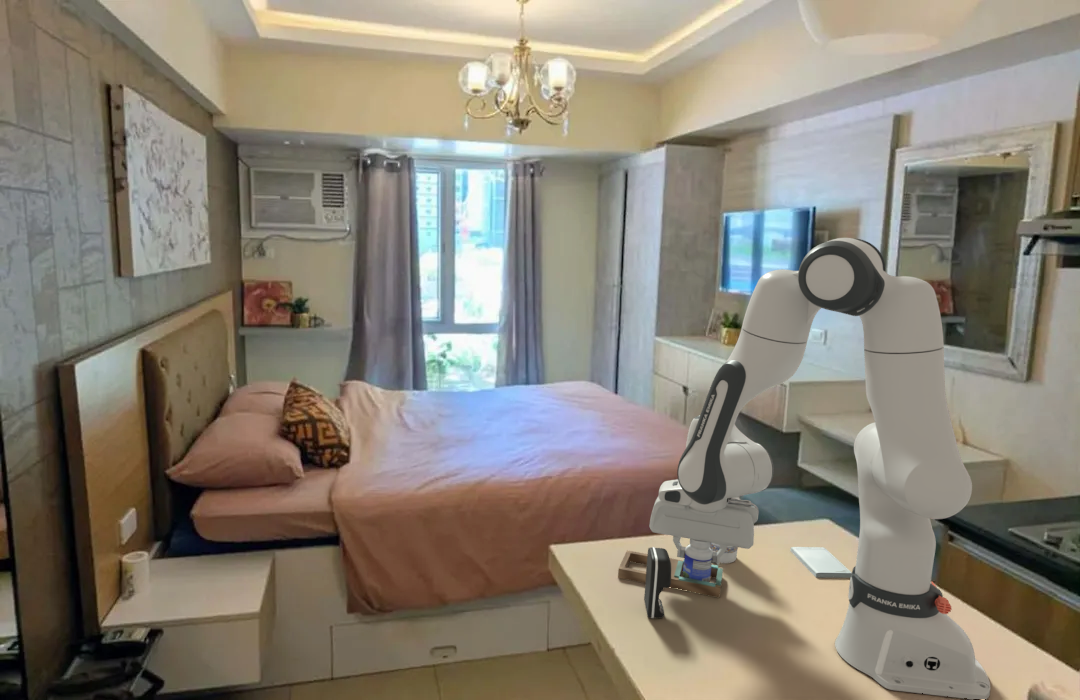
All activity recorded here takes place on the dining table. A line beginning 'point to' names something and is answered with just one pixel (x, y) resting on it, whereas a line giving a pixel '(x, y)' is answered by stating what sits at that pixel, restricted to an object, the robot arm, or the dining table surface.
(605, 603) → the dining table surface
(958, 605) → the dining table surface
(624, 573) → the wooden frame
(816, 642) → the dining table surface
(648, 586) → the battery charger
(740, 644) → the dining table surface
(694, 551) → the pill bottle
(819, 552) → the hard drive
